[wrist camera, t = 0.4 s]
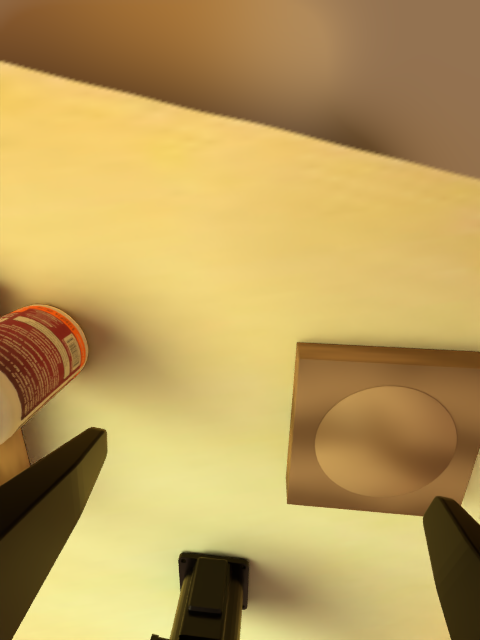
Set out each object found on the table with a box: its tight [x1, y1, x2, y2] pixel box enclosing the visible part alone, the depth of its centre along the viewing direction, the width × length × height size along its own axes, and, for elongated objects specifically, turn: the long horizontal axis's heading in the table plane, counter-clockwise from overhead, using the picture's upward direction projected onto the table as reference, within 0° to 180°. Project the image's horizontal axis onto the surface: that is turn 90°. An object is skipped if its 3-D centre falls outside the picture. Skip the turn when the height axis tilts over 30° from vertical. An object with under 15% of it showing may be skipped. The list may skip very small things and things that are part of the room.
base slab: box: [286, 342, 480, 516], centre depth 24 cm, size 12×12×3 cm
